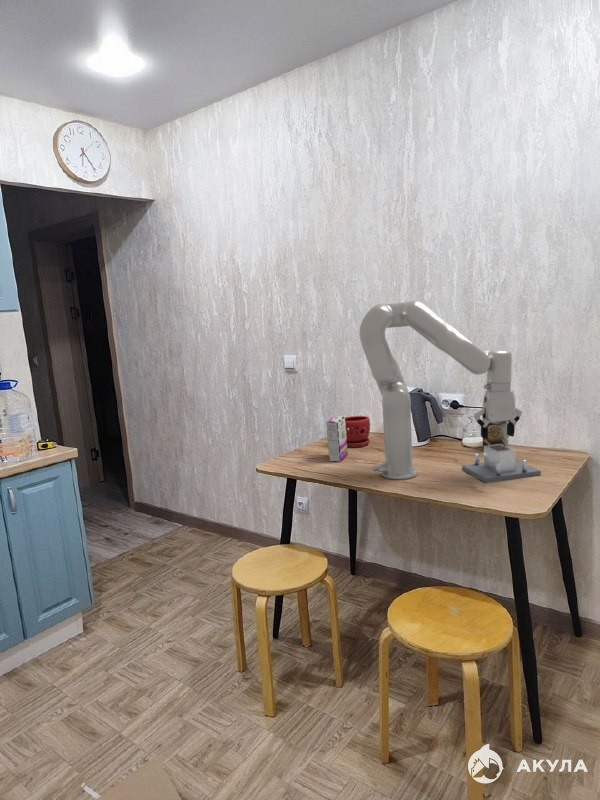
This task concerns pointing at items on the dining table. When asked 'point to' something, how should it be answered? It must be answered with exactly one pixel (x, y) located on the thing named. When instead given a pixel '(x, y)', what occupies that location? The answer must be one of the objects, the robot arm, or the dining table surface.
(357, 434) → the plant pot
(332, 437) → the candy bar box
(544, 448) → the dining table surface
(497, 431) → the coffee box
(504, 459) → the block
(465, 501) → the dining table surface
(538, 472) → the pin board
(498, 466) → the guide pins
